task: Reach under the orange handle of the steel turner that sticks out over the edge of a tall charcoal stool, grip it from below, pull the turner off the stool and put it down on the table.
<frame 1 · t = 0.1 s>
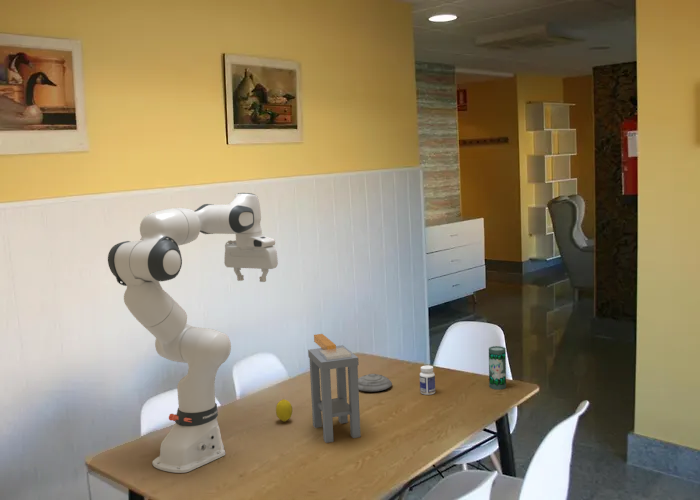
hand: (251, 281, 227), 48 cm above the table, tool pointing down, fingers open, 8 cm apart
pill bottle: (427, 393, 250), on the table
can: (497, 387, 253), on the table
flying saucer: (372, 388, 259), on the table
lemon: (284, 422, 227), on the table
turner: (331, 352, 215), point 26 cm above the table, touching stool
stool: (336, 431, 217), on the table
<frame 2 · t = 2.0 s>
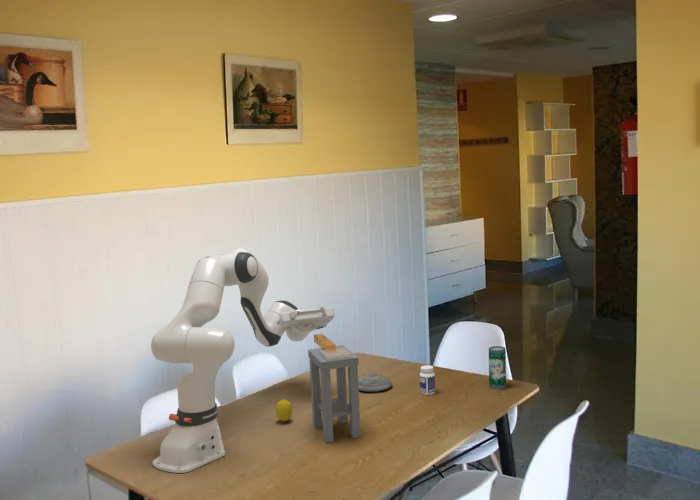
hand: (310, 310, 237), 35 cm above the table, tool pointing upward, fingers open, 8 cm apart
nothing on the table moved.
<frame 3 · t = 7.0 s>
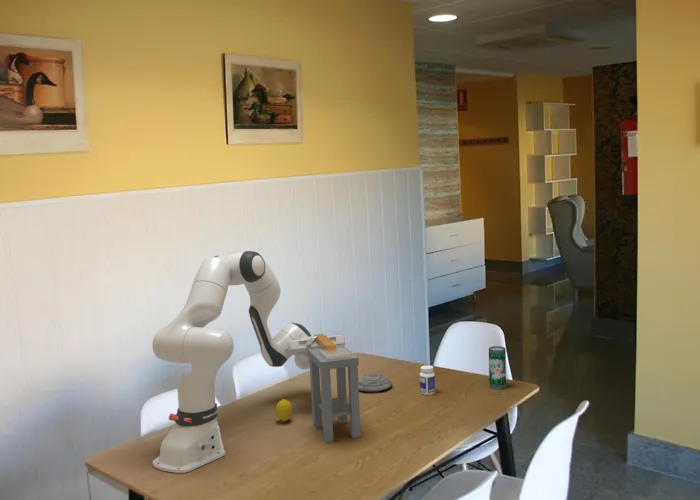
hand: (320, 338, 227), 28 cm above the table, tool pointing upward, fingers closed on turner, 3 cm apart
turner: (331, 352, 215), point 26 cm above the table, touching gripper, stool
everything else where it was.
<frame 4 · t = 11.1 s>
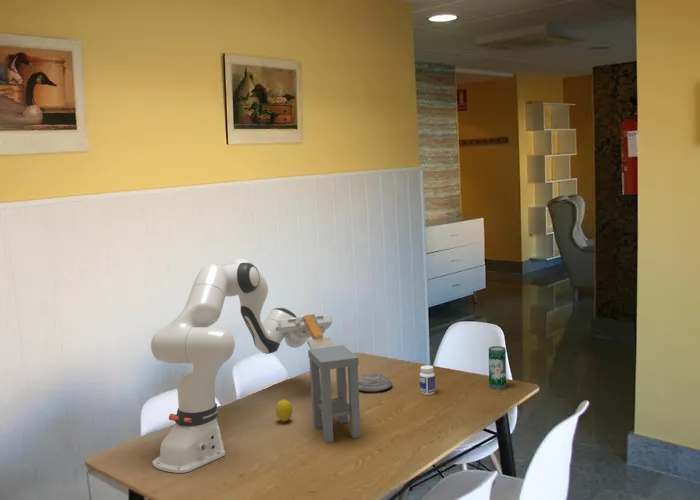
hand: (308, 316, 241), 32 cm above the table, tool pointing upward, fingers closed on turner, 3 cm apart
turner: (318, 341, 230), point 26 cm above the table, tilted 15°, touching gripper
everything else where it was.
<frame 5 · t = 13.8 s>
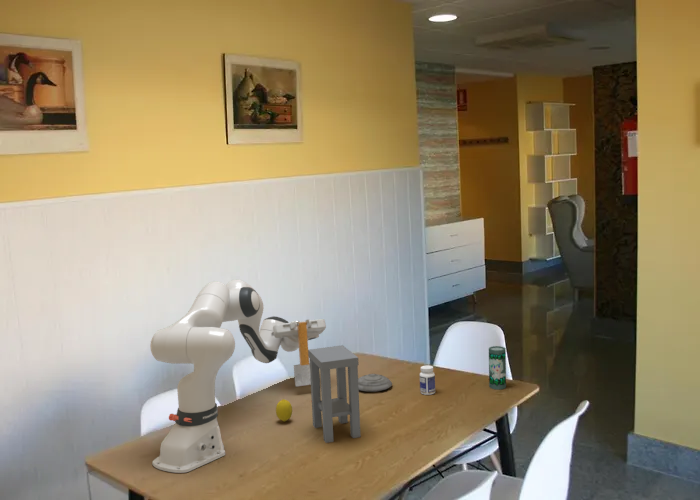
hand: (302, 322, 250), 28 cm above the table, tool pointing upward, fingers closed on turner, 3 cm apart
turner: (303, 363, 254), point 11 cm above the table, tilted 86°, touching gripper
everything else where it was.
when the fingers open (19 cm above the table, at t = 15.3 s): turner drops 6 cm and tips over, point 2 cm above the table.
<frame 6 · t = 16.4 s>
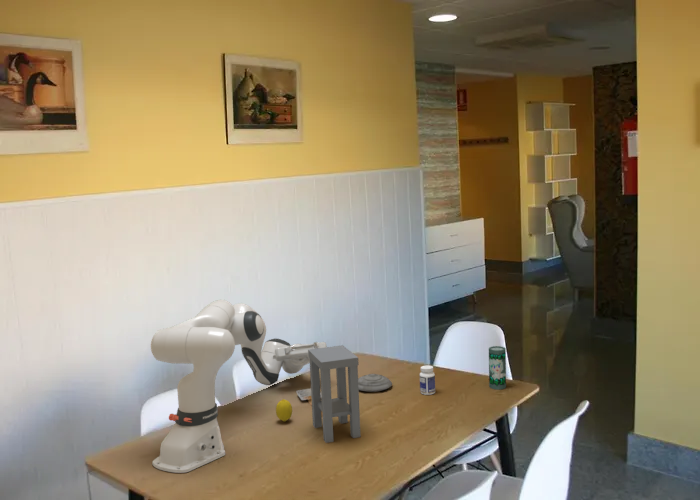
hand: (304, 345, 251), 19 cm above the table, tool pointing upward, fingers open, 8 cm apart
turner: (312, 395, 245), point 2 cm above the table, tilted 180°
everything else where it was.
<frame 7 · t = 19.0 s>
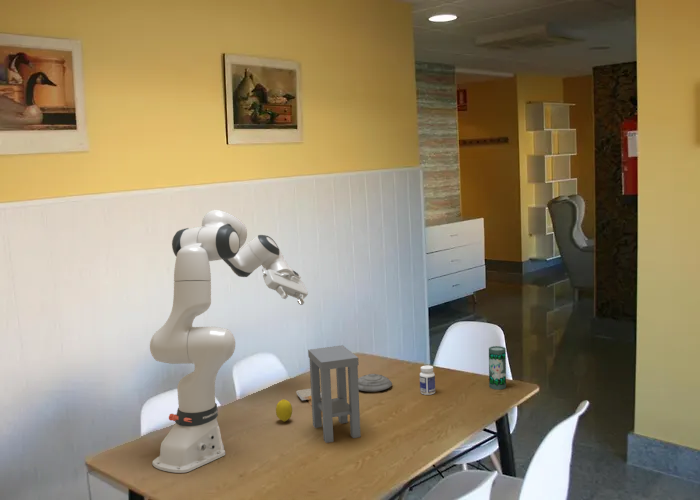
hand: (293, 300, 244), 37 cm above the table, tool tilted 50°, fingers open, 8 cm apart
nothing on the table moved.
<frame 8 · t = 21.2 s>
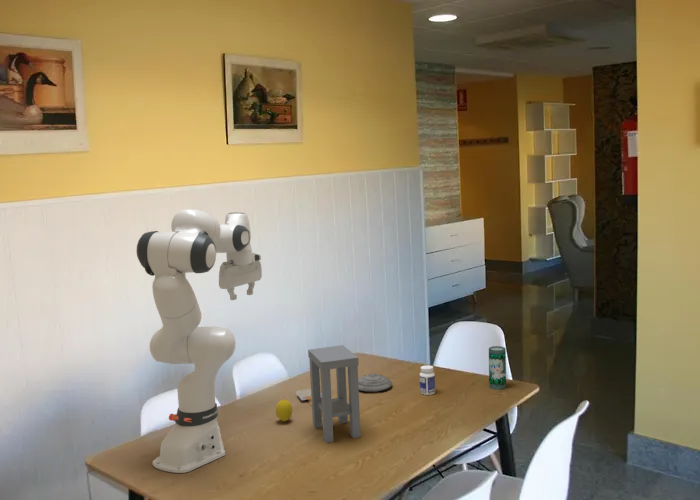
hand: (241, 297, 235), 41 cm above the table, tool pointing down, fingers open, 8 cm apart
nothing on the table moved.
at the end: turner point 2.3 cm above the table; the gripper is holding nothing; turner inside the target area (5.0 cm from its centre), point 2.3 cm above the table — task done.
